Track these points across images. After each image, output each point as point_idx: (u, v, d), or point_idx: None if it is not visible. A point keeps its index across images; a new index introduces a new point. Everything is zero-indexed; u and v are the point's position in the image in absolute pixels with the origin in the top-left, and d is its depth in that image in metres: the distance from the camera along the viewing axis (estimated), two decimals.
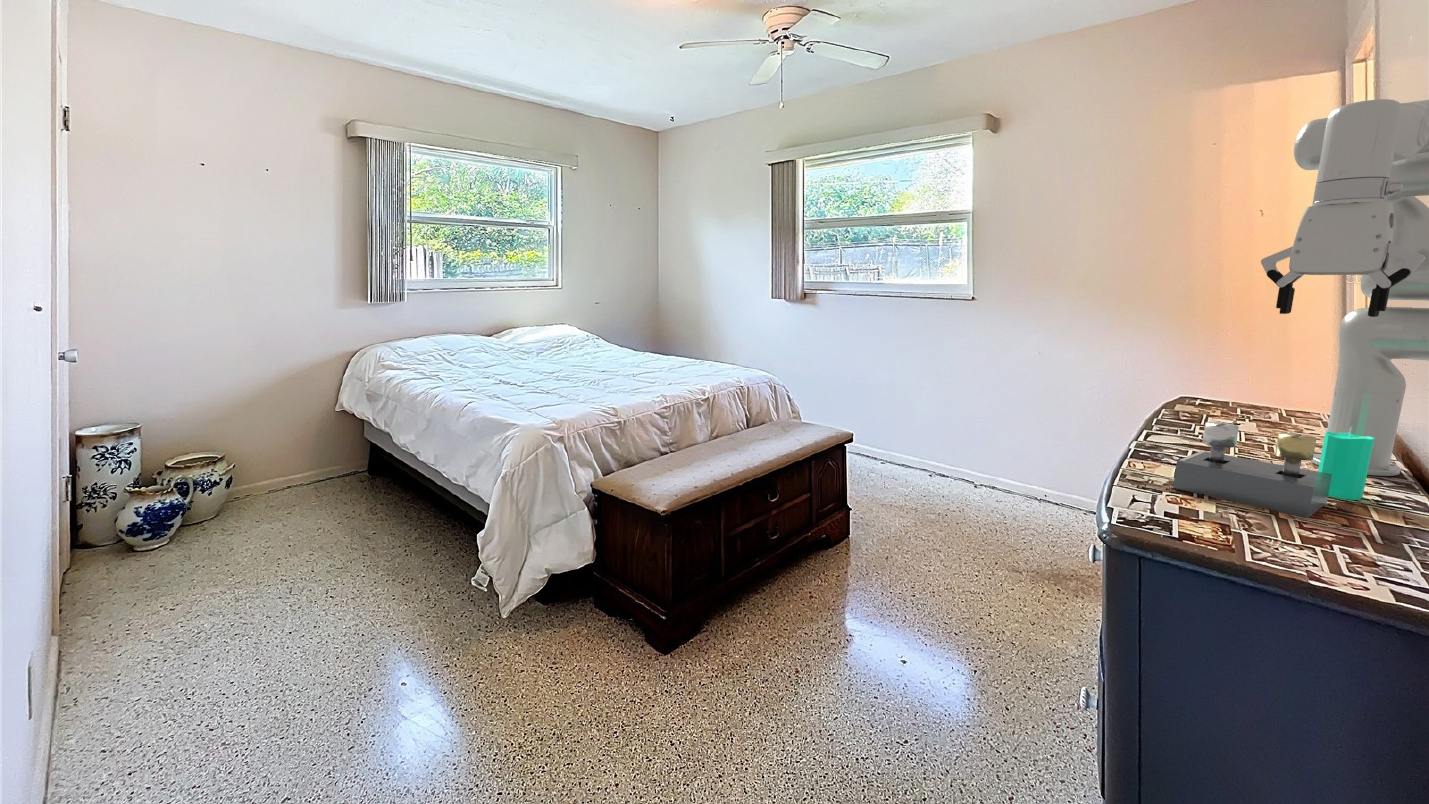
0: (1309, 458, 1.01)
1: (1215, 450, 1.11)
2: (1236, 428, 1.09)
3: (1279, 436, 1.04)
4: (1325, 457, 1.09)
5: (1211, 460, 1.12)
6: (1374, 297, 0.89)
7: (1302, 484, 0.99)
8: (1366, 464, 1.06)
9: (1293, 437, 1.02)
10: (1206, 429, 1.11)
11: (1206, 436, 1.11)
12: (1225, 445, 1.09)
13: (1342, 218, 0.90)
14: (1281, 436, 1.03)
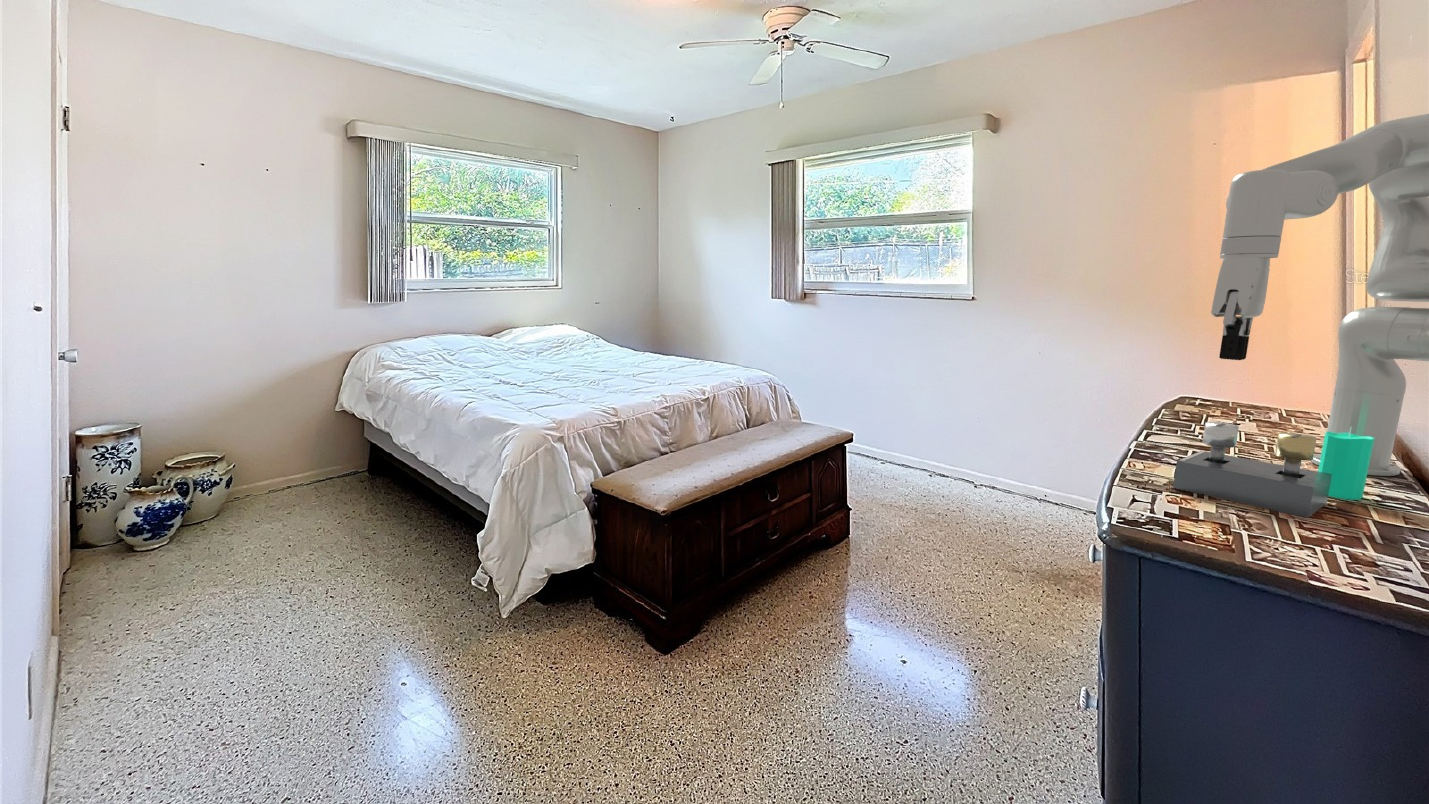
0: (1309, 458, 1.01)
1: (1215, 450, 1.11)
2: (1236, 428, 1.09)
3: (1279, 436, 1.04)
4: (1325, 457, 1.09)
5: (1211, 460, 1.12)
6: (1247, 344, 1.07)
7: (1302, 484, 0.99)
8: (1366, 464, 1.06)
9: (1293, 437, 1.02)
10: (1206, 429, 1.11)
11: (1206, 436, 1.11)
12: (1225, 445, 1.09)
13: (1265, 269, 1.04)
14: (1281, 436, 1.03)
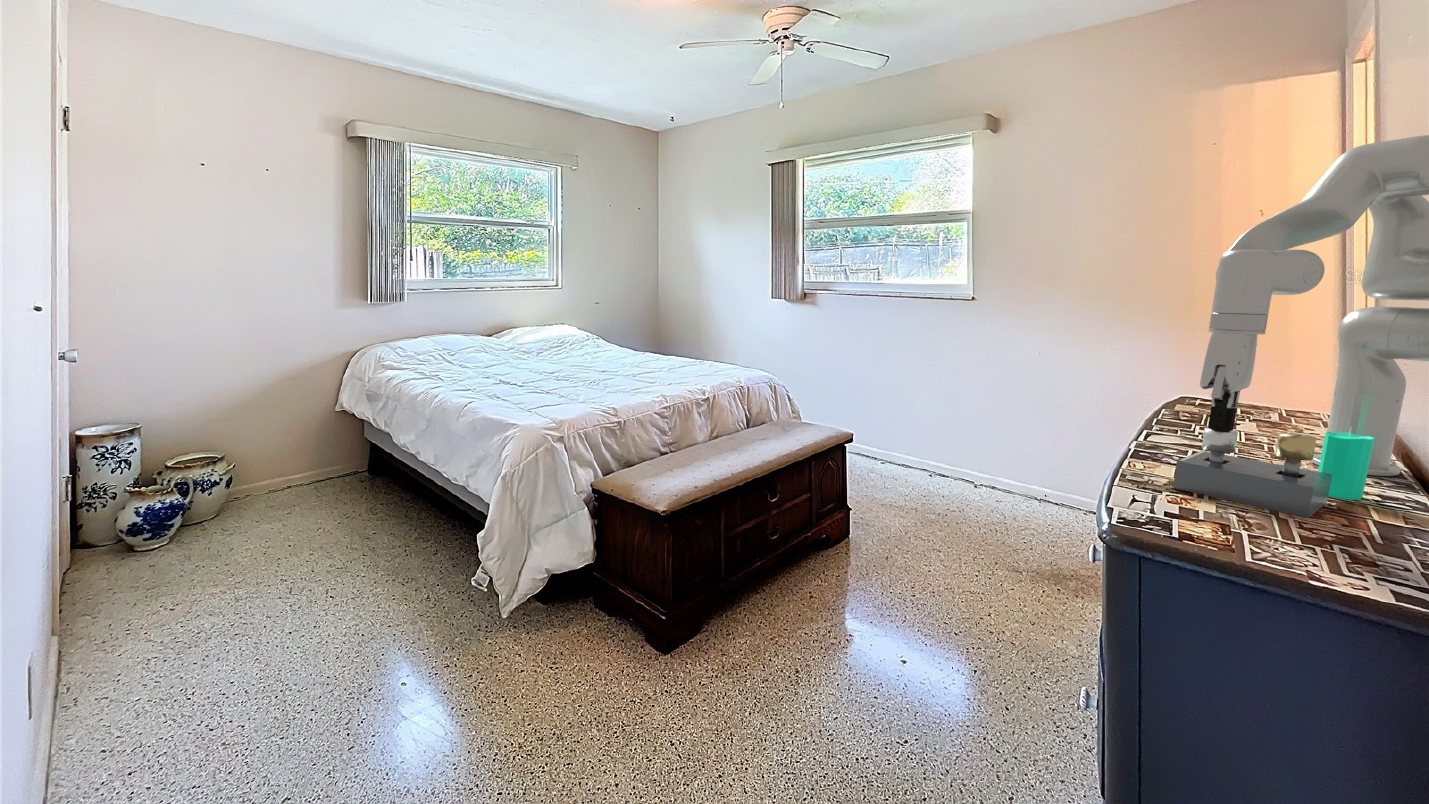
0: (1309, 458, 1.01)
1: (1214, 456, 1.11)
2: (1235, 434, 1.09)
3: (1279, 436, 1.04)
4: (1325, 457, 1.09)
5: None
6: (1234, 416, 1.09)
7: (1302, 484, 0.99)
8: (1366, 464, 1.06)
9: (1293, 437, 1.02)
10: (1205, 435, 1.12)
11: (1205, 441, 1.12)
12: (1224, 451, 1.09)
13: (1253, 345, 1.06)
14: (1281, 436, 1.03)
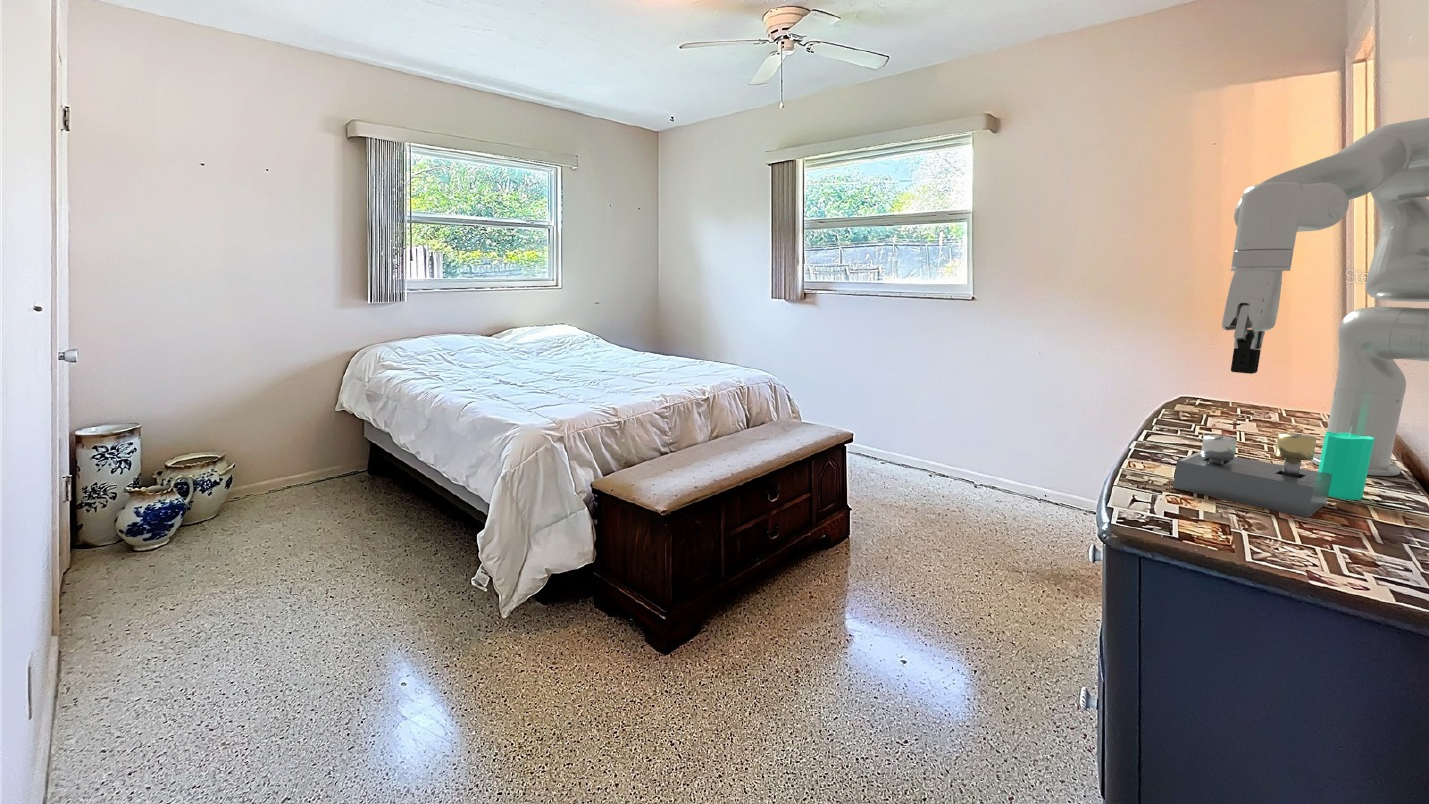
0: (1309, 458, 1.01)
1: None
2: (1234, 441, 1.09)
3: (1279, 436, 1.04)
4: (1325, 457, 1.09)
5: None
6: (1258, 357, 1.06)
7: (1302, 484, 0.99)
8: (1366, 464, 1.06)
9: (1293, 437, 1.02)
10: (1204, 442, 1.12)
11: (1204, 449, 1.12)
12: (1223, 458, 1.10)
13: (1277, 283, 1.03)
14: (1281, 436, 1.03)
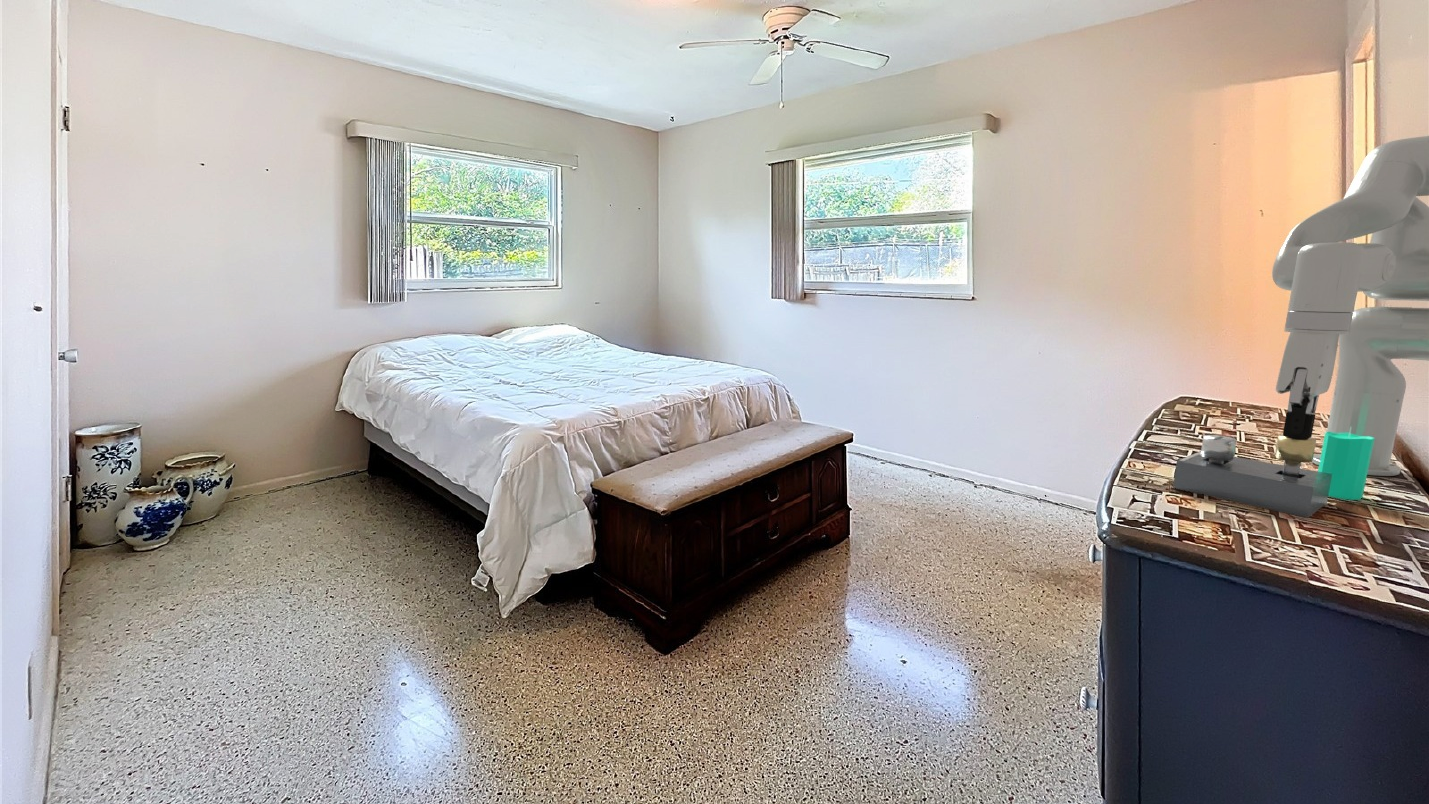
0: (1309, 460, 1.01)
1: None
2: (1234, 441, 1.09)
3: (1279, 438, 1.04)
4: (1325, 457, 1.09)
5: None
6: (1313, 422, 1.01)
7: (1302, 484, 0.99)
8: (1366, 464, 1.06)
9: (1293, 439, 1.02)
10: (1204, 442, 1.12)
11: (1204, 449, 1.12)
12: (1223, 458, 1.10)
13: (1335, 346, 0.98)
14: (1281, 438, 1.03)
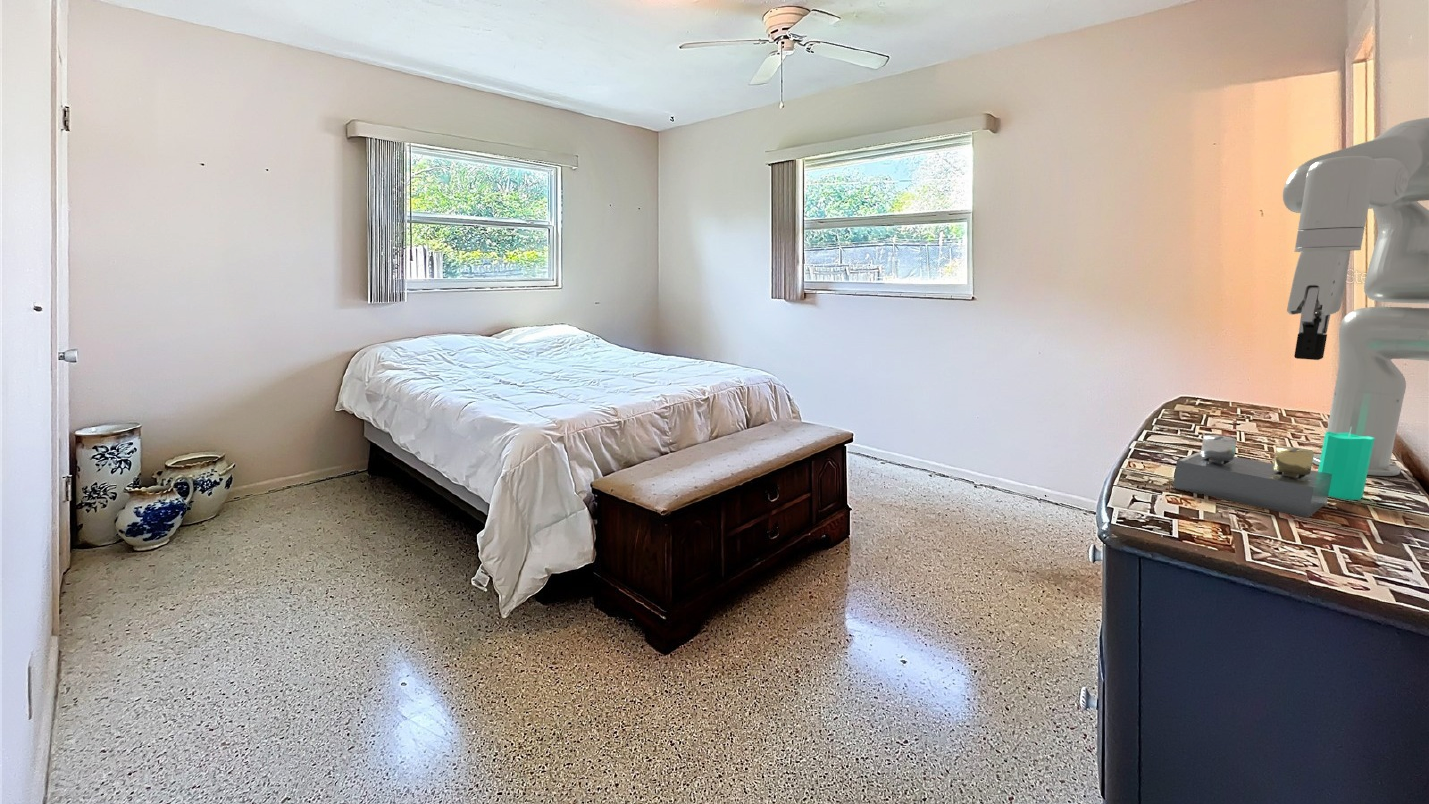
0: (1306, 472, 1.02)
1: None
2: (1234, 441, 1.09)
3: (1277, 450, 1.04)
4: (1325, 457, 1.09)
5: None
6: (1324, 342, 1.01)
7: (1302, 484, 0.99)
8: (1366, 464, 1.06)
9: (1290, 451, 1.02)
10: (1204, 442, 1.12)
11: (1204, 449, 1.12)
12: (1223, 458, 1.10)
13: (1347, 263, 0.97)
14: (1279, 450, 1.04)
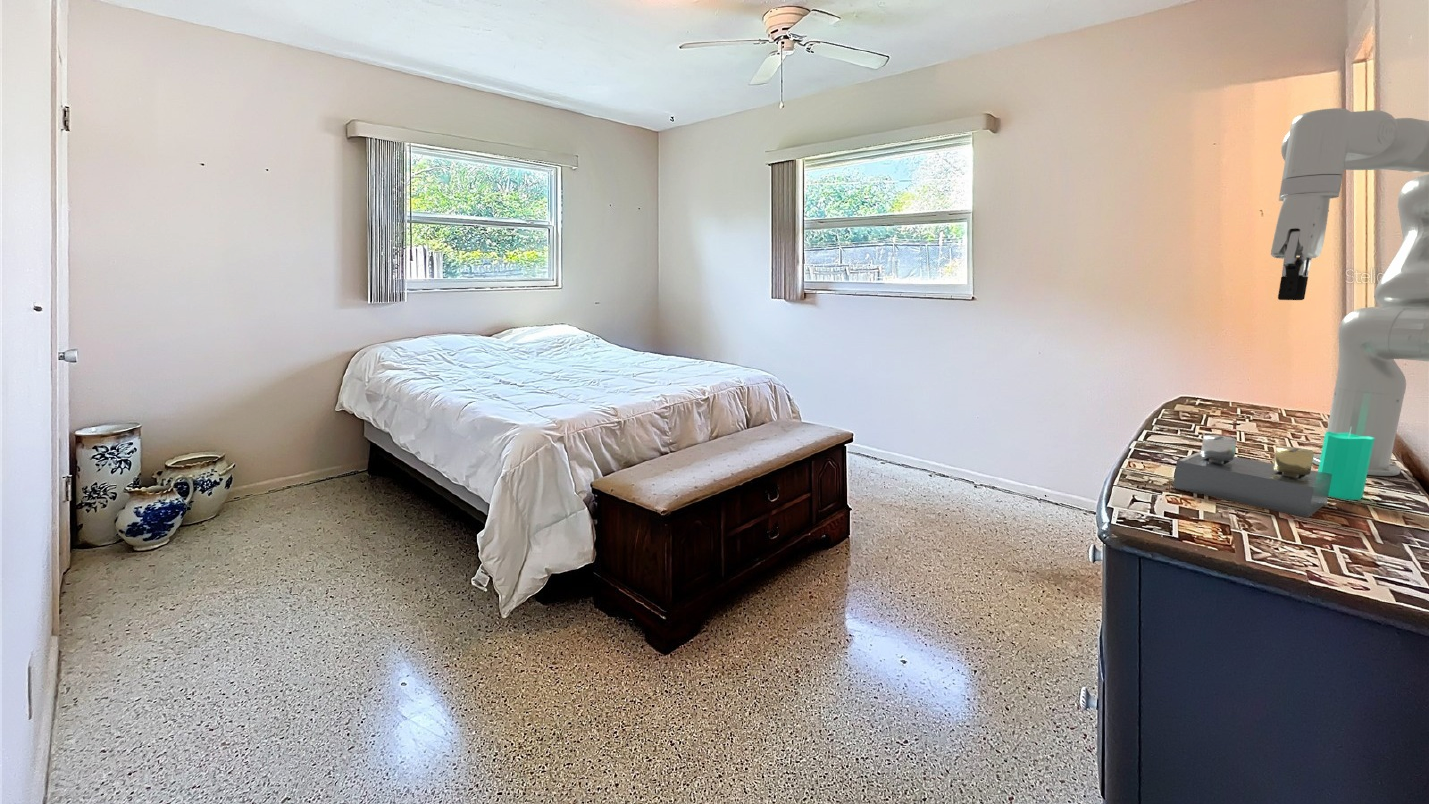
0: (1306, 472, 1.02)
1: None
2: (1234, 441, 1.09)
3: (1277, 450, 1.04)
4: (1325, 457, 1.09)
5: None
6: (1306, 284, 1.09)
7: (1302, 484, 0.99)
8: (1366, 464, 1.06)
9: (1290, 451, 1.02)
10: (1204, 442, 1.12)
11: (1204, 449, 1.12)
12: (1223, 458, 1.10)
13: (1326, 209, 1.06)
14: (1279, 450, 1.04)
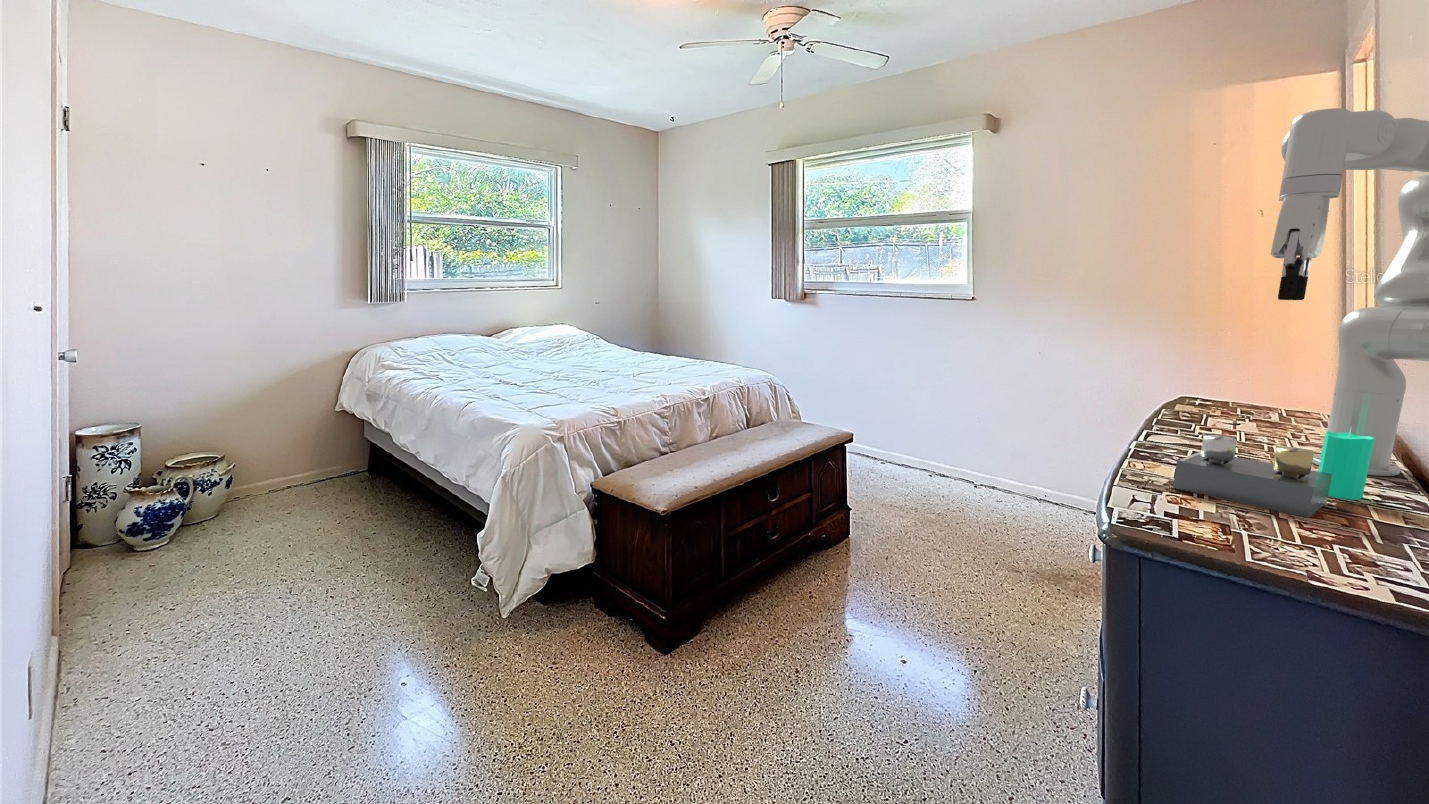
0: (1306, 472, 1.02)
1: None
2: (1234, 441, 1.09)
3: (1277, 450, 1.04)
4: (1325, 457, 1.09)
5: None
6: (1306, 284, 1.09)
7: (1302, 484, 0.99)
8: (1366, 464, 1.06)
9: (1290, 451, 1.02)
10: (1204, 442, 1.12)
11: (1204, 449, 1.12)
12: (1223, 458, 1.10)
13: (1326, 209, 1.06)
14: (1279, 450, 1.04)
